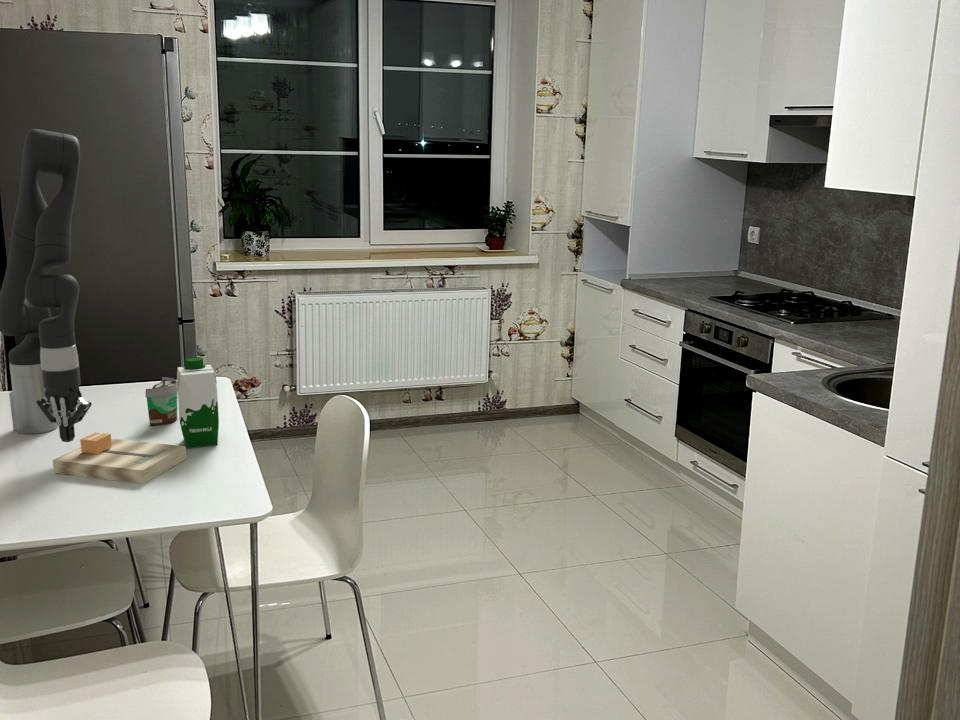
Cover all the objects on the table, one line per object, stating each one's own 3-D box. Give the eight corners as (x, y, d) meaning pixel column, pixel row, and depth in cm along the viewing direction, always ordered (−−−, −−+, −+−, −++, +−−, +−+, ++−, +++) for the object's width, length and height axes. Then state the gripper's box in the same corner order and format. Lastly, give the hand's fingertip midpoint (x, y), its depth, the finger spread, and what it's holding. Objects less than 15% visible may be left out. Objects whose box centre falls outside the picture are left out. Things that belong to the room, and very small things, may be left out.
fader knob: (81, 452, 200) (80, 438, 199) (96, 445, 204) (95, 432, 203) (97, 454, 199) (96, 440, 198) (111, 446, 203) (110, 433, 203)
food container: (172, 428, 227) (169, 389, 225) (147, 427, 227) (144, 389, 225) (188, 413, 239) (186, 377, 237) (165, 413, 239) (162, 376, 237)
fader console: (53, 473, 196) (52, 459, 195) (101, 449, 211) (100, 436, 210) (143, 483, 190) (142, 469, 190) (186, 458, 206) (185, 445, 205)
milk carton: (216, 434, 222) (212, 355, 218) (222, 446, 214) (217, 363, 210) (179, 439, 219) (173, 358, 214) (183, 450, 211) (177, 367, 206)
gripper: (97, 363, 201) (104, 438, 205) (46, 359, 204) (54, 433, 208) (74, 371, 194) (82, 449, 198) (22, 367, 197) (30, 443, 201)
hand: (67, 440), depth 203 cm, fingers closed
